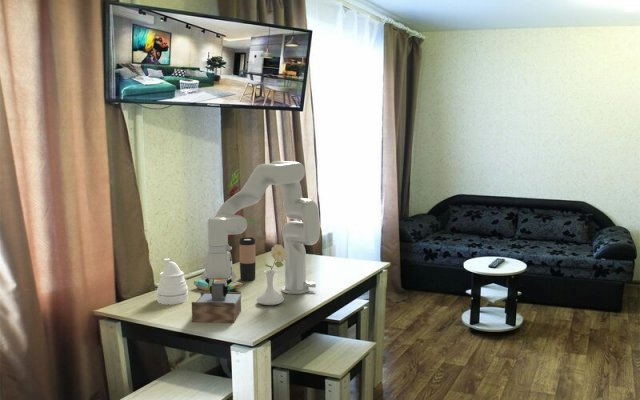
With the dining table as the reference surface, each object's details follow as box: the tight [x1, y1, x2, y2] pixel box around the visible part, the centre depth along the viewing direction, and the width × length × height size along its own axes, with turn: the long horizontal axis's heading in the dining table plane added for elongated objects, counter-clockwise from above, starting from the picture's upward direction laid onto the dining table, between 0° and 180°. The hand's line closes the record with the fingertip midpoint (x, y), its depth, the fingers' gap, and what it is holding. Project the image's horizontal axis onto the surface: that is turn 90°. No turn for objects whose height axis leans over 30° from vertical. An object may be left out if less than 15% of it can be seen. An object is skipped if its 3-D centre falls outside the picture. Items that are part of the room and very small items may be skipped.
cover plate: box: [196, 281, 242, 306], centre depth 220 cm, size 15×12×7 cm
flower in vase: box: [256, 243, 287, 306], centre depth 236 cm, size 13×11×25 cm
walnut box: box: [191, 291, 242, 324], centre depth 220 cm, size 16×14×8 cm
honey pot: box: [156, 258, 189, 305], centre depth 241 cm, size 13×13×18 cm
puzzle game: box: [193, 278, 244, 292], centre depth 257 cm, size 12×5×20 cm
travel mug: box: [239, 236, 257, 282], centre depth 274 cm, size 8×8×20 cm
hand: (219, 294), depth 220 cm, fingers closed on cover plate, 4 cm apart
